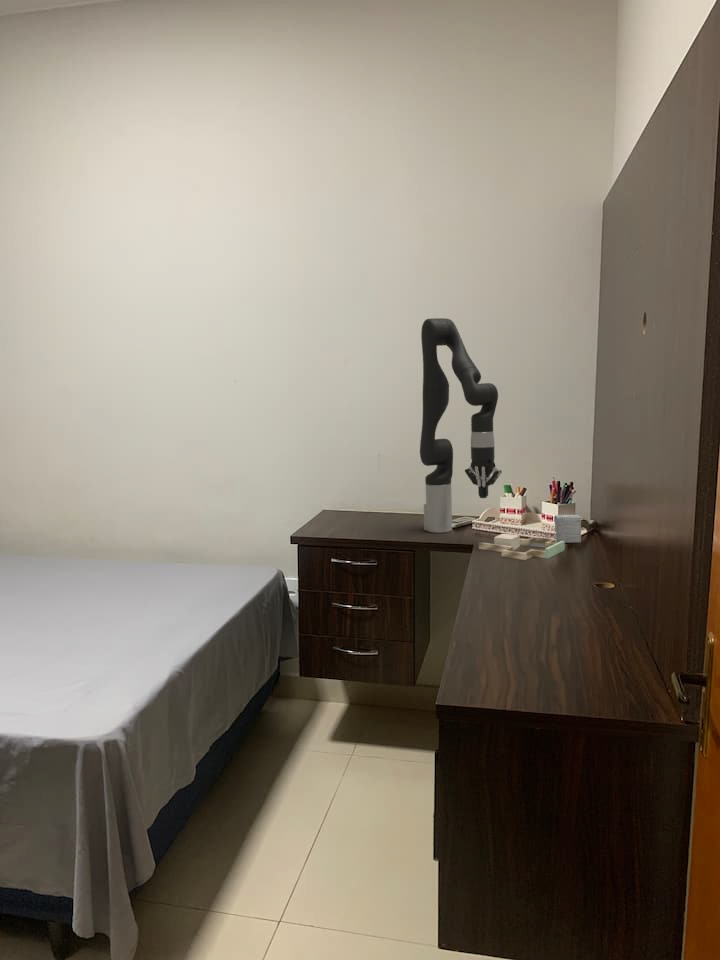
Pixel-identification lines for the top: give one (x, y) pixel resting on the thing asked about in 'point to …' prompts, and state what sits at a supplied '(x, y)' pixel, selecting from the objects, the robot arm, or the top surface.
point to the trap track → (539, 542)
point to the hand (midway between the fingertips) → (483, 497)
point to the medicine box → (568, 528)
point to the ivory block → (508, 540)
